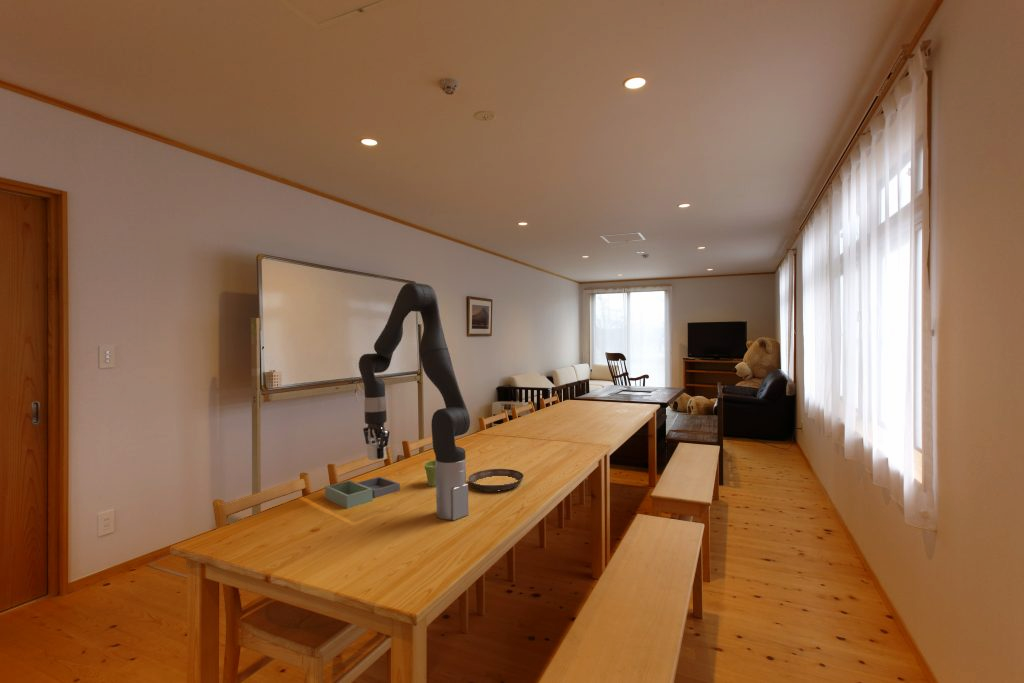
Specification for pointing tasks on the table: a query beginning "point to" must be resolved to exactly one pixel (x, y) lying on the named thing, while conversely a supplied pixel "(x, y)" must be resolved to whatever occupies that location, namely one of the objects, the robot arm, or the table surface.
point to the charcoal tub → (381, 486)
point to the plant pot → (431, 472)
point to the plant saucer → (495, 472)
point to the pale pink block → (374, 451)
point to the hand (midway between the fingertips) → (376, 457)
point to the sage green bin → (348, 494)
